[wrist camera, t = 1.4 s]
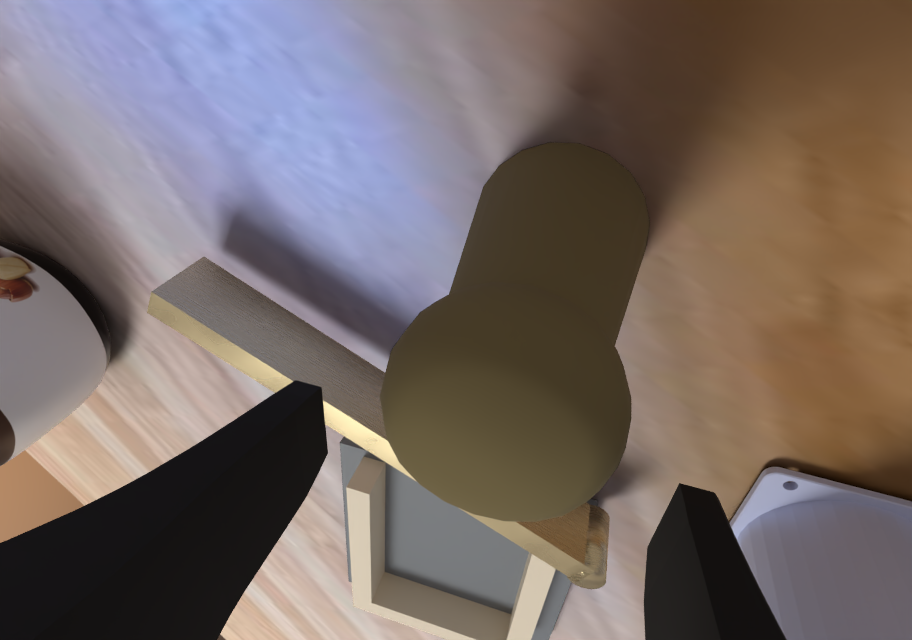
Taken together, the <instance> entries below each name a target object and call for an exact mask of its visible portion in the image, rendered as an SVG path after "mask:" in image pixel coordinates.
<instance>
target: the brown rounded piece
mask: <svg viewBox="0 0 912 640" xmlns="http://www.w3.org/2000/svg"><path fill="white" fill-rule="evenodd" d="M649 226H650V221H649V216H648V210H647V205H646V200H645V196H644V194H643V193H642V191H641V189H640V188H639V186H638V184H637V183H636V181H635V179H634V178H633V176H632V174H631V173H630V172H629V171H628V170H627V169H625V168H624V167H623V166H622V165H620V164H619V163H618V162H617V161H616V160H614V159H613V158H612V157H611V156H610V155H608V154H606V153H604V152H601V151H598V150H596V149H593V148H590V147H588V146H585V145H582V144H578V143H552V142H550V143H546V144H542V145H539V146H535V147H532V148H528V149H525V150H522V151H520V152H519V153H517V154H516V155H514V156H513V157H512V158H510V159H509V160H507V161H506V162H504V163H503V164H501V165H500V166H499V167H498V168H497V169H496V171H495V172H494V173H493V175H492V176H491V177H490V179H489V180H488V181H487V183H486V184H485V185H484V187H483V190H482V193H481V196H480V199H479V202H478V205H477V208H476V212H475V215H474V218H473V221H472V224H471V227H470V230H469V233H468V237H467V240H466V243H465V246H464V249H463V252H462V255H461V259H460V262H459V265H458V268H457V271H456V274H455V277H454V280H453V284H452V287H451V290H450V293H449V295H447V296H445V297H444V298H442V299H440V300H438V301H436V302H435V303H433V304H432V305H430V306H429V307H427V308H426V309H424V310H423V311H422V312H420V313H419V315H418V316H417V317H416V318H415V320H414V321H413V322H412V323H411V324H410V326H409V327H408V328H407V329H406V331H405V332H404V333H403V334H402V336H401V337H400V339H399V340H398V342H397V343H396V344H395V346H394V347H393V349H392V350H391V353H390V357H389V361H388V365H387V369H386V372H385V376H384V380H383V384H382V389H381V393H380V401H381V408H382V414H383V421H384V426H385V431H386V437H387V440H388V442H389V444H390V446H391V448H392V450H393V452H394V453H395V455H396V457H397V459H398V461H399V463H400V464H401V465H402V466H403V467H404V468H405V469H406V471H407V472H408V473H409V474H410V475H411V476H412V477H413V478H414V479H415V480H416V481H417V482H418V483H419V484H420V485H421V486H423V487H424V488H425V489H427V490H428V491H430V492H431V493H433V494H434V495H436V496H437V497H439V498H440V499H441V500H443V501H444V502H446V503H449V504H451V505H453V506H456V507H458V508H460V509H463V510H465V511H467V512H469V513H472V514H474V515H479V516H483V517H488V518H492V519H496V520H501V521H513V522H537V521H542V520H546V519H550V518H555V517H559V516H564V515H565V514H567V513H569V512H571V511H572V510H574V509H576V508H577V507H579V506H581V505H582V504H584V503H586V502H587V501H588V500H590V499H591V498H592V497H593V496H594V495H595V494H596V493H598V492H599V491H600V490H601V489H602V487H603V486H604V485H605V483H606V482H607V481H608V479H609V478H610V477H611V475H612V474H613V473H614V472H615V470H616V469H617V468H618V465H619V463H620V461H621V458H622V456H623V453H624V451H625V448H626V443H627V438H628V433H629V428H630V423H631V395H630V391H629V387H628V383H627V379H626V375H625V370H624V366H623V364H622V361H621V359H620V356H619V354H618V351H617V349H616V348H615V347H614V346H615V343H616V340H617V337H618V334H619V331H620V327H621V324H622V321H623V318H624V315H625V312H626V309H627V306H628V302H629V299H630V296H631V293H632V290H633V287H634V284H635V281H636V277H637V274H638V271H639V268H640V265H641V262H642V259H643V256H644V252H645V249H646V243H647V238H648V232H649Z"/></svg>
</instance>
